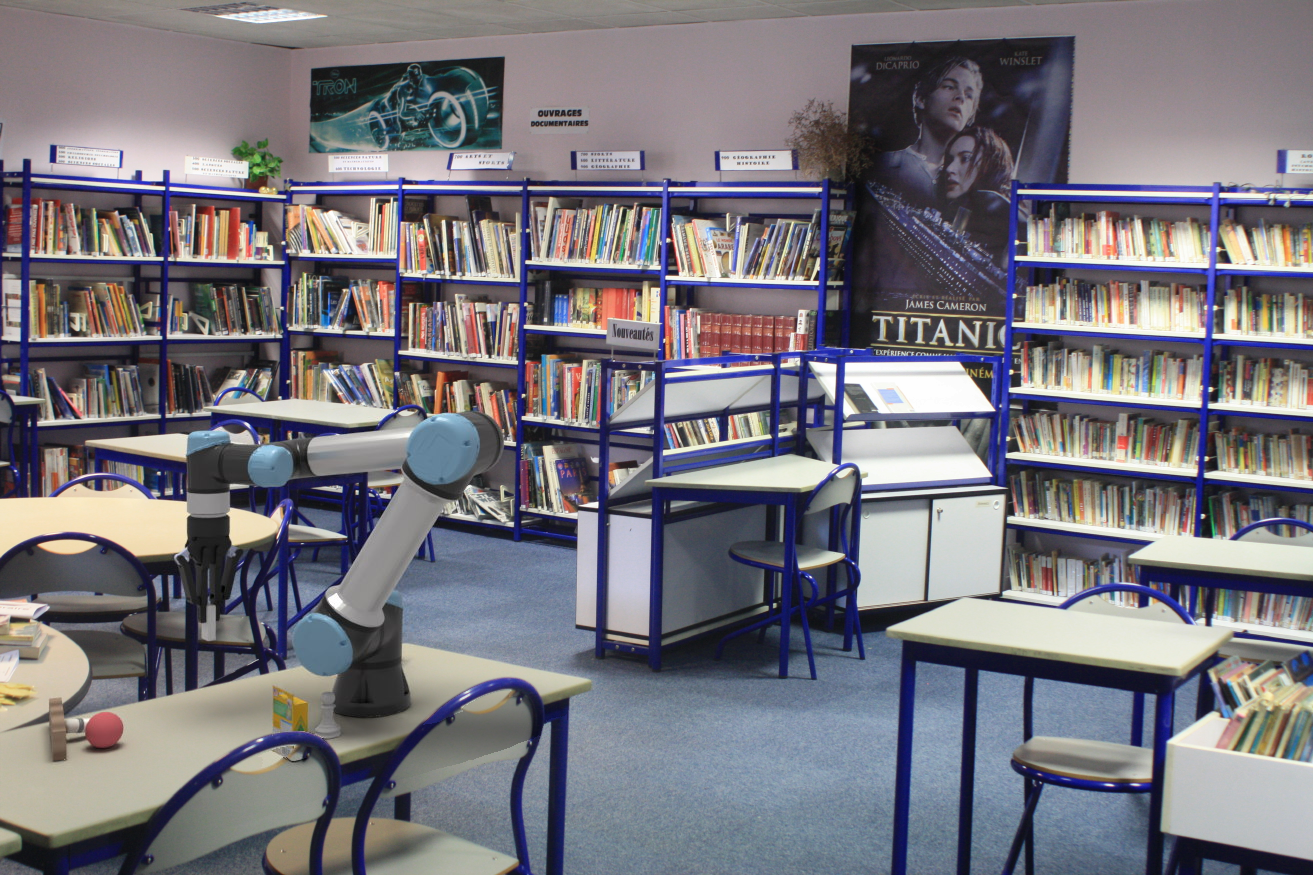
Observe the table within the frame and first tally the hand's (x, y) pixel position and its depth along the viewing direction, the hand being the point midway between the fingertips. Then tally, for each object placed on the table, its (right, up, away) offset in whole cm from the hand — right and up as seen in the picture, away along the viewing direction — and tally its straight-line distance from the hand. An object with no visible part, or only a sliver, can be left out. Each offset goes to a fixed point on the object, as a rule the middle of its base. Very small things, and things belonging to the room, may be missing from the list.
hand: (208, 638), depth 229 cm
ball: (-11, -12, -20) cm, 26 cm away
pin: (-12, -13, -11) cm, 21 cm away
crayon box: (+21, -17, -21) cm, 34 cm away
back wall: (-20, -15, -18) cm, 30 cm away
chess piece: (+25, -16, -10) cm, 31 cm away
